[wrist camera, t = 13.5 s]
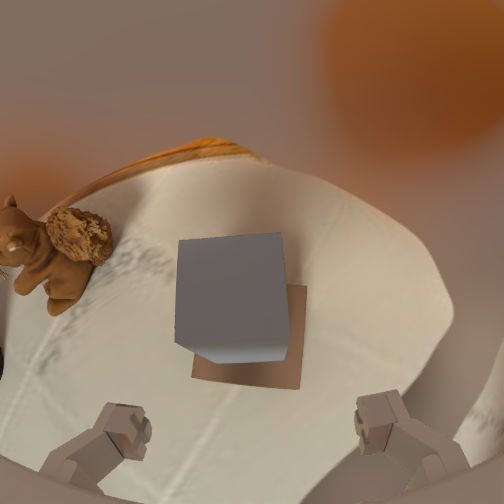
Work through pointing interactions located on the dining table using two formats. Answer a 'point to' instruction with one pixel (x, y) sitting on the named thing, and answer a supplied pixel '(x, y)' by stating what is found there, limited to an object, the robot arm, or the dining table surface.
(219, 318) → the slate block
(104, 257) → the stuffed squirrel
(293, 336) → the walnut block
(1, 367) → the travel mug
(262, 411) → the dining table surface
